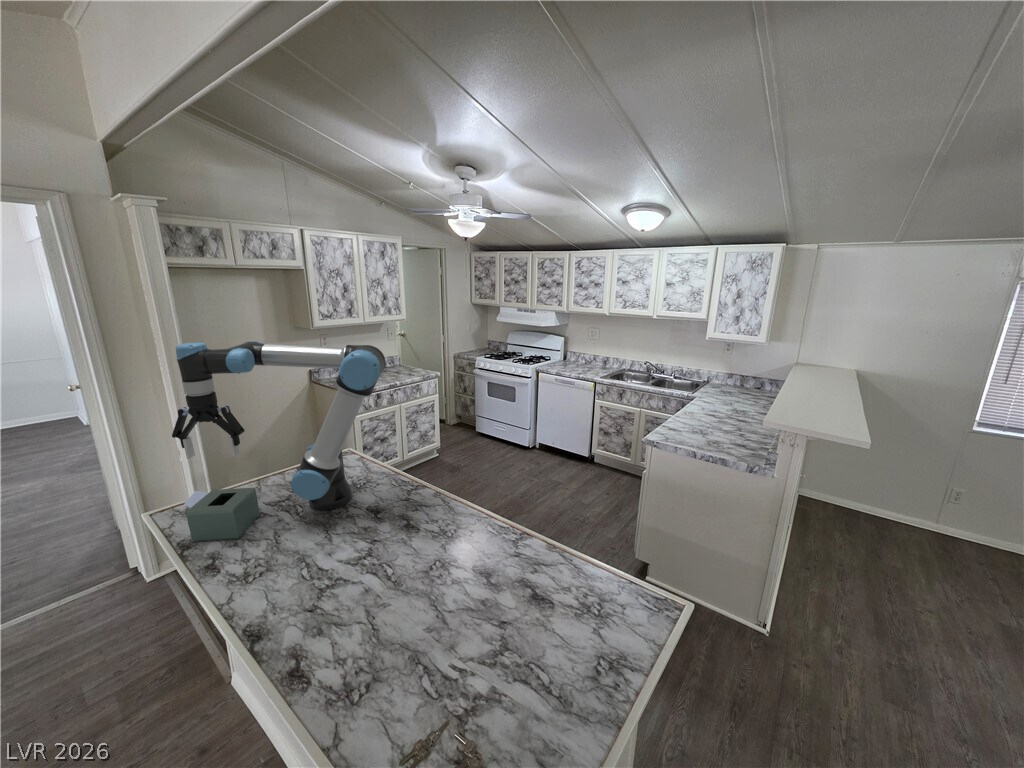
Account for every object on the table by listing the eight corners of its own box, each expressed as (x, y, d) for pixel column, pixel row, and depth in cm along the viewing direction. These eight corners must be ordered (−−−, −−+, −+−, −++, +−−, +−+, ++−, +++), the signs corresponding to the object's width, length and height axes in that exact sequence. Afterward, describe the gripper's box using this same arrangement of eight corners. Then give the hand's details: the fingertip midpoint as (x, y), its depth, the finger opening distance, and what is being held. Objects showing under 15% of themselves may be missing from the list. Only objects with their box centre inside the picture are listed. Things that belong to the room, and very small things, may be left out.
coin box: (260, 515, 144) (255, 487, 141) (238, 539, 130) (232, 509, 127) (218, 517, 142) (212, 489, 139) (192, 542, 129) (185, 512, 126)
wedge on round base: (185, 512, 145) (206, 522, 140) (181, 496, 144) (202, 504, 138) (212, 500, 153) (233, 509, 148) (208, 485, 151) (229, 492, 146)
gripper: (249, 388, 129) (260, 449, 135) (165, 391, 126) (179, 452, 132) (236, 394, 122) (248, 458, 127) (147, 397, 119) (163, 462, 125)
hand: (213, 455), depth 130 cm, fingers open, 13 cm apart
